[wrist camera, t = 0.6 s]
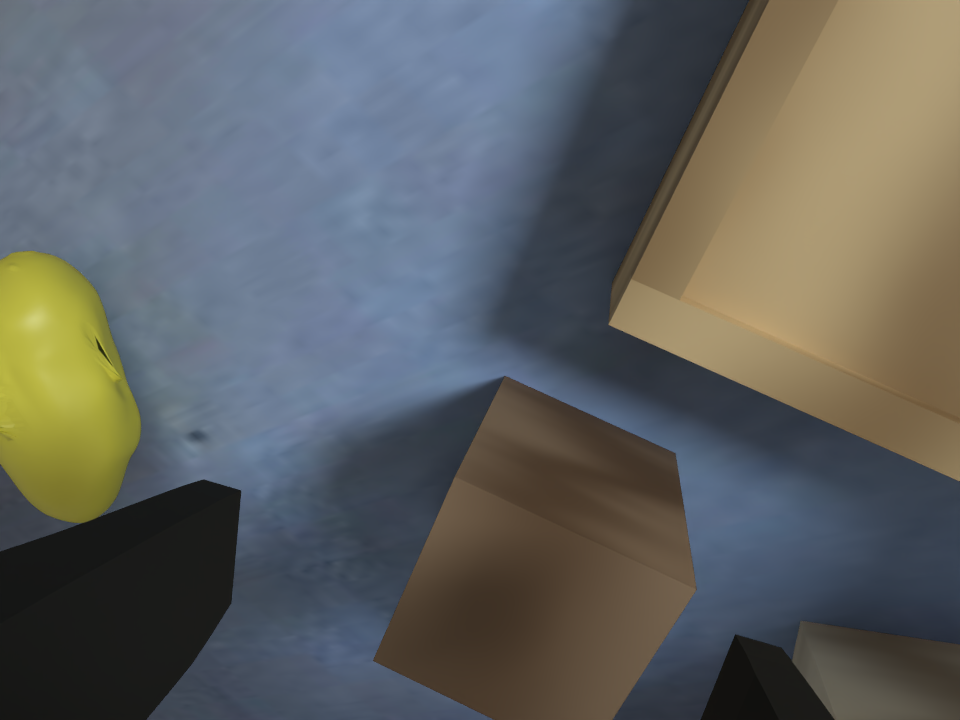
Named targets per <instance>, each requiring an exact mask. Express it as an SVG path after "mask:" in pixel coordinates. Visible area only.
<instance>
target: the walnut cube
mask: <svg viewBox="0 0 960 720" xmlns="http://www.w3.org/2000/svg"><path fill="white" fill-rule="evenodd" d="M696 590H697V589H696V582H695V576H694V569H693V563H692V556H691V550H690V544H689V537H688V531H687V524H686V518H685V511H684V505H683V499H682V492H681V486H680V479H679V473H678V466H677V460H676V453H674V452H671V451H669V450H667V449H665V448H663V447H660V446H658V445H656V444H654V443H652V442H649V441H647V440H645V439H643V438H641V437H638V436H636V435H634V434H632V433H630V432H627V431H625V430H623V429H621V428H619V427H616V426H614V425H612V424H610V423H608V422H605V421H603V420H601V419H599V418H597V417H594V416H592V415H590V414H588V413H586V412H583V411H581V410H579V409H577V408H575V407H572V406H570V405H568V404H566V403H564V402H561V401H559V400H557V399H555V398H553V397H550V396H548V395H546V394H544V393H542V392H539V391H537V390H535V389H533V388H531V387H528V386H526V385H524V384H522V383H520V382H517V381H515V380H513V379H511V378H509V377H506V376H505V377H504V379H503V381H502V383H501V385H500V387H499V389H498V391H497V393H496V395H495V397H494V399H493V401H492V403H491V405H490V407H489V409H488V411H487V413H486V415H485V417H484V419H483V421H482V423H481V425H480V427H479V429H478V431H477V433H476V435H475V437H474V439H473V441H472V443H471V445H470V447H469V449H468V451H467V453H466V455H465V457H464V459H463V461H462V463H461V465H460V467H459V469H458V471H457V473H456V475H455V478H454V480H453V482H452V484H451V487H450V489H449V491H448V493H447V495H446V498H445V500H444V502H443V504H442V507H441V509H440V511H439V513H438V516H437V518H436V520H435V522H434V525H433V527H432V529H431V531H430V534H429V536H428V538H427V540H426V543H425V545H424V547H423V549H422V552H421V554H420V556H419V558H418V561H417V563H416V565H415V567H414V570H413V572H412V574H411V576H410V579H409V581H408V583H407V585H406V588H405V590H404V592H403V594H402V597H401V599H400V601H399V603H398V605H397V608H396V610H395V612H394V614H393V617H392V619H391V621H390V623H389V626H388V628H387V630H386V632H385V635H384V637H383V639H382V641H381V644H380V646H379V648H378V650H377V653H376V655H375V657H374V659H373V661H374V662H376V663H379V664H381V665H383V666H385V667H387V668H389V669H391V670H393V671H395V672H397V673H399V674H401V675H403V676H405V677H407V678H409V679H411V680H414V681H416V682H418V683H420V684H422V685H424V686H426V687H428V688H430V689H432V690H434V691H436V692H438V693H440V694H442V695H444V696H446V697H449V698H451V699H453V700H455V701H457V702H459V703H461V704H463V705H465V706H467V707H469V708H471V709H473V710H475V711H477V712H479V713H481V714H483V715H486V716H488V717H490V718H492V719H494V720H613V718H614V716H615V715H616V713H617V712H618V710H619V709H620V707H621V706H622V704H623V703H624V701H625V699H626V698H627V696H628V695H629V693H630V692H631V690H632V689H633V687H634V686H635V684H636V682H637V681H638V679H639V678H640V676H641V675H642V673H643V672H644V670H645V669H646V667H647V665H648V664H649V662H650V661H651V659H652V658H653V656H654V655H655V653H656V652H657V650H658V648H659V647H660V645H661V644H662V642H663V641H664V639H665V638H666V636H667V635H668V633H669V631H670V630H671V628H672V627H673V625H674V624H675V622H676V621H677V619H678V618H679V616H680V614H681V613H682V611H683V610H684V608H685V607H686V605H687V604H688V602H689V601H690V599H691V597H692V596H693V594H694V593H695V591H696Z"/></svg>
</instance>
